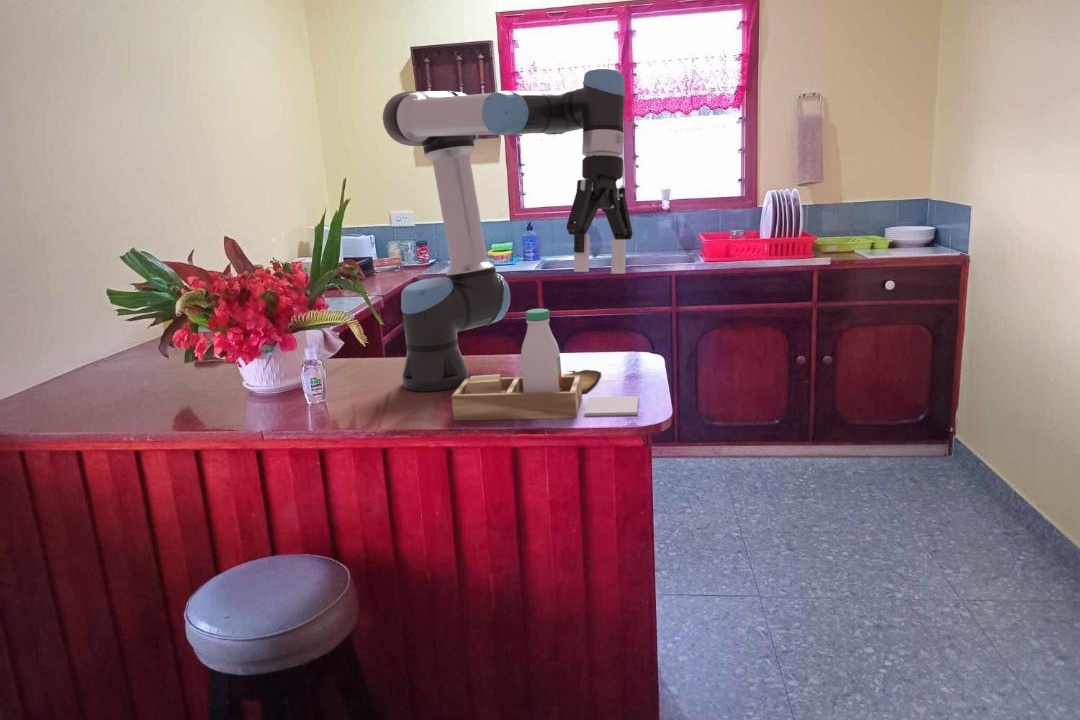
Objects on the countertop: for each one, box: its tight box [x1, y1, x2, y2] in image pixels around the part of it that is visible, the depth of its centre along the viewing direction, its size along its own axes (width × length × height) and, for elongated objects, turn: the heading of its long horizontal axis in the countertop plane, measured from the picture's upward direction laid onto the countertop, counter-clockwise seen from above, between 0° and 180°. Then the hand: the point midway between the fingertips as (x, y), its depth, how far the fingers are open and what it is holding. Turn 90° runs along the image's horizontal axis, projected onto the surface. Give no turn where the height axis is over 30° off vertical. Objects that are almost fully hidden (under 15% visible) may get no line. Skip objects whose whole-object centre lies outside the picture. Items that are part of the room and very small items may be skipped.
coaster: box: [584, 395, 639, 417], centre depth 154 cm, size 10×10×1 cm
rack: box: [451, 375, 583, 421], centre depth 157 cm, size 12×24×5 cm, turn 82°
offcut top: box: [469, 373, 502, 394], centre depth 157 cm, size 5×6×4 cm
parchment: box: [562, 369, 602, 396], centre depth 170 cm, size 25×10×1 cm, turn 159°
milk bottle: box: [520, 308, 563, 393], centre depth 154 cm, size 8×8×20 cm
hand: (600, 272), depth 147 cm, fingers open, 13 cm apart
